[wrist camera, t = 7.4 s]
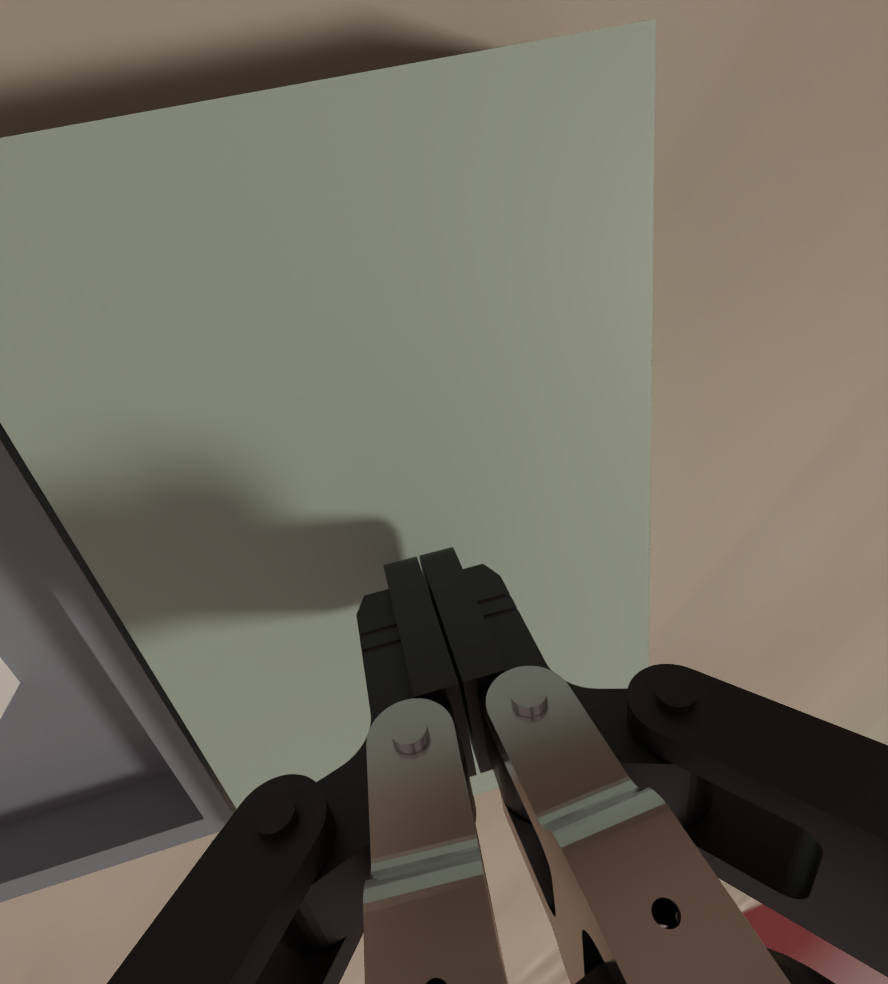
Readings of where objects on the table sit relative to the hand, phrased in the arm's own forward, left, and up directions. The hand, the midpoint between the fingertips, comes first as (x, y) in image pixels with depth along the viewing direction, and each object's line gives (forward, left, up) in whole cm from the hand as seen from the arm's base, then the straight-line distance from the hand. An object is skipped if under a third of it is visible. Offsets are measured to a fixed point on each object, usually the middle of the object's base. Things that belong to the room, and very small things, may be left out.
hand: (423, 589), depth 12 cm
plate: (0, 0, -5) cm, 5 cm away
